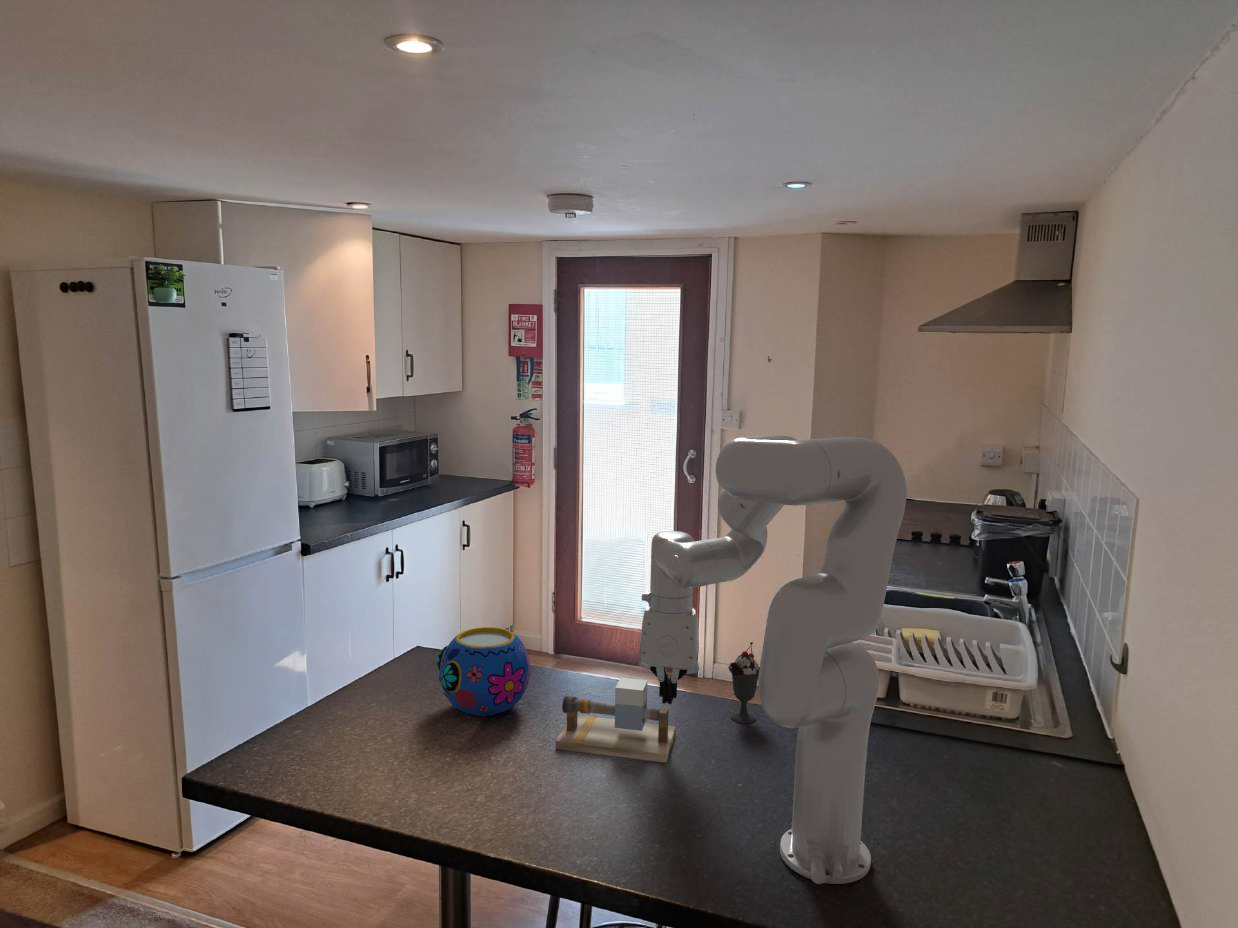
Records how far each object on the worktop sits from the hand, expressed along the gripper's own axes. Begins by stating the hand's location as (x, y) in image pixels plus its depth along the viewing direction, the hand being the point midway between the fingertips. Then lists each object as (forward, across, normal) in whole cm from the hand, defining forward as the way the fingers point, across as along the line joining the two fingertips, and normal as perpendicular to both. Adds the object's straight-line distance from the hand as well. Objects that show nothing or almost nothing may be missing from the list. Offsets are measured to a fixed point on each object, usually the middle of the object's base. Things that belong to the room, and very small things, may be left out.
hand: (667, 700), depth 147 cm
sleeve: (+5, -7, 0) cm, 8 cm away
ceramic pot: (+9, -37, +6) cm, 39 cm away
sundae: (+9, +13, +16) cm, 22 cm away
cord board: (+9, -9, 0) cm, 13 cm away
